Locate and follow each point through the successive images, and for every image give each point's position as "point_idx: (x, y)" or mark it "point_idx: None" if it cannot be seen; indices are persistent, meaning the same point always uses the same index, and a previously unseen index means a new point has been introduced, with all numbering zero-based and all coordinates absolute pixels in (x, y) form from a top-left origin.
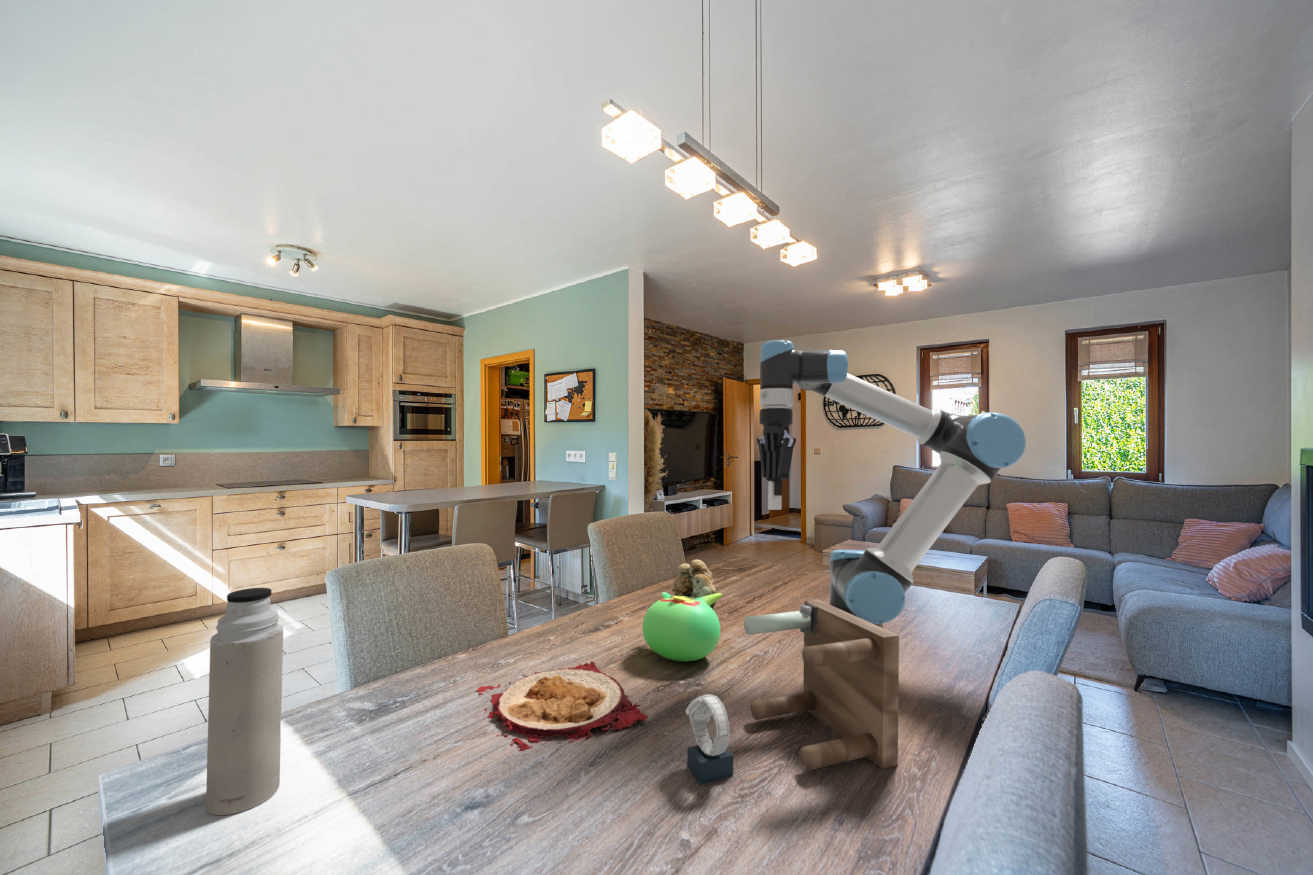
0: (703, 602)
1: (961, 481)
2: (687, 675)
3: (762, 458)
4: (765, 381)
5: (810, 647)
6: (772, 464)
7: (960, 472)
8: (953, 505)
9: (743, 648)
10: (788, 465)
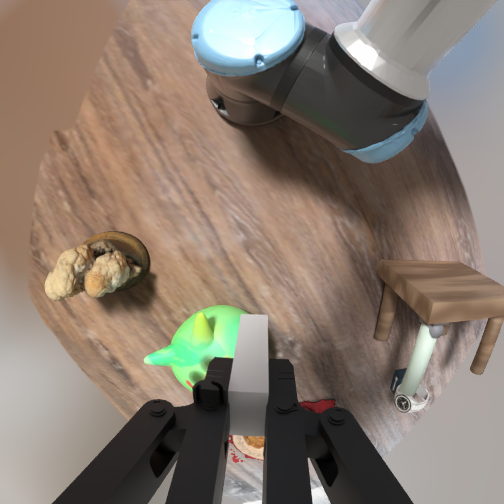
0: (220, 347)
1: None
2: (268, 345)
3: None
4: None
5: (481, 373)
6: (218, 499)
7: None
8: None
9: (219, 249)
10: (383, 478)
